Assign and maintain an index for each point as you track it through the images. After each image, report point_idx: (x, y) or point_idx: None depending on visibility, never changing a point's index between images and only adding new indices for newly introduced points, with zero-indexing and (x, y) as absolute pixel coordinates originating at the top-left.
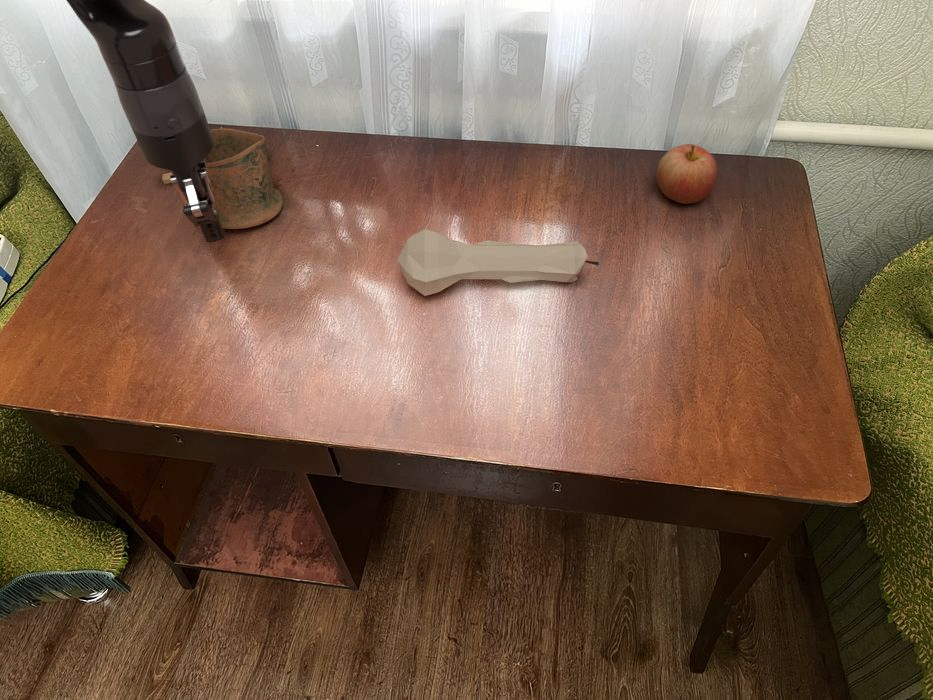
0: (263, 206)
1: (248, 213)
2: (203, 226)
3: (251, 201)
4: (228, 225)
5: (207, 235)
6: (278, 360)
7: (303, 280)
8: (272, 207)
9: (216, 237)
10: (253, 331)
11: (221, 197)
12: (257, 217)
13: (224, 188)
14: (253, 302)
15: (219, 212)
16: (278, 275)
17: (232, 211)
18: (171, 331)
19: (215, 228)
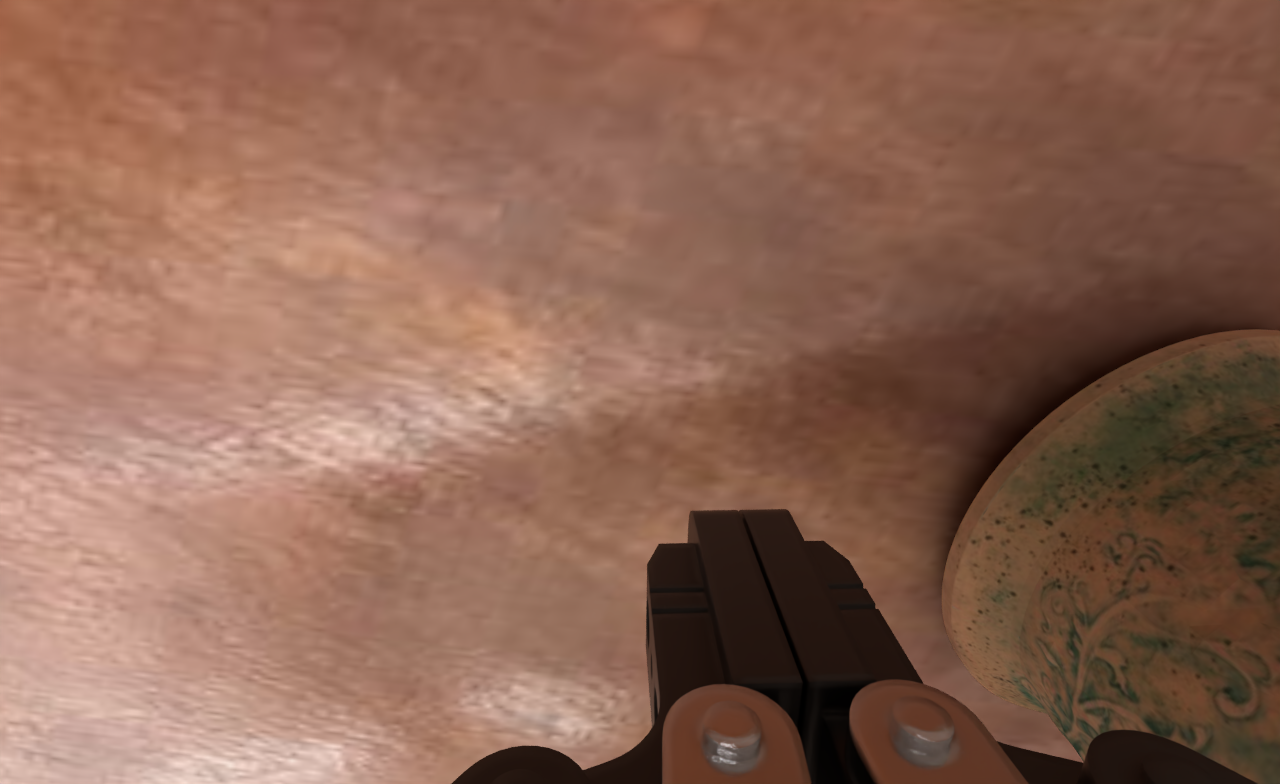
0: (1033, 694)
1: (1015, 628)
2: (659, 676)
3: (1068, 707)
4: (997, 498)
5: (650, 596)
6: (16, 563)
7: (508, 707)
8: (1021, 702)
9: (646, 623)
10: (223, 483)
11: (1188, 612)
12: (978, 640)
13: (1240, 705)
14: (425, 503)
15: (1111, 496)
16: (577, 621)
17: (1064, 577)
18: (303, 52)
19: (651, 715)
